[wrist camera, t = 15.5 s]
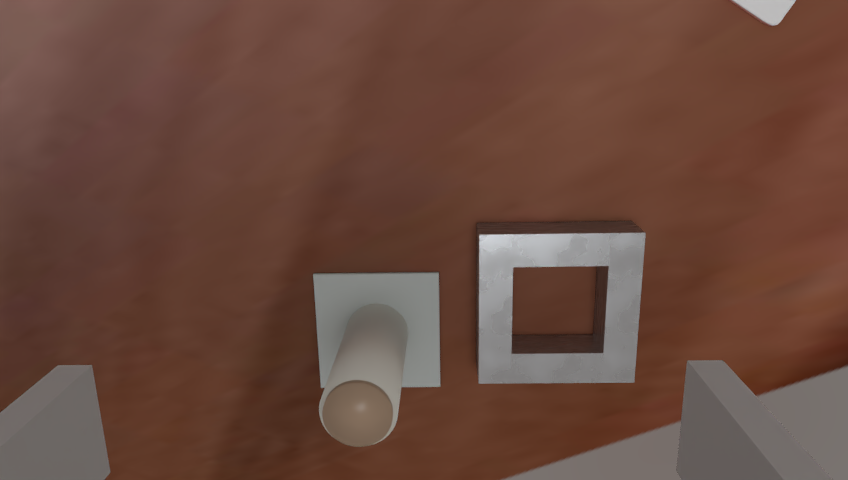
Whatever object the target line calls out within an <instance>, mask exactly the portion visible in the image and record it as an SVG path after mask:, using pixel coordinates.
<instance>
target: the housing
mask: <svg viewBox="0 0 848 480" xmlns="http://www.w3.org/2000/svg"><path fill="white" fill-rule="evenodd" d="M644 246H645V232H644V231H643V230H642V229H641V228H640V227H638V226H637V225H636V224H635V223H634V222H633V221H581V222H504V223H477V258H476V366H477V374H478V382H479V384H484V383H634V378H635V365H636V352H637V339H638V325H639V312H640V299H641V286H642V273H643V259H644ZM563 266H597V272H596V290H595V308H594V326H593V334H571V335H512V299H513V267H563Z"/></svg>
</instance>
